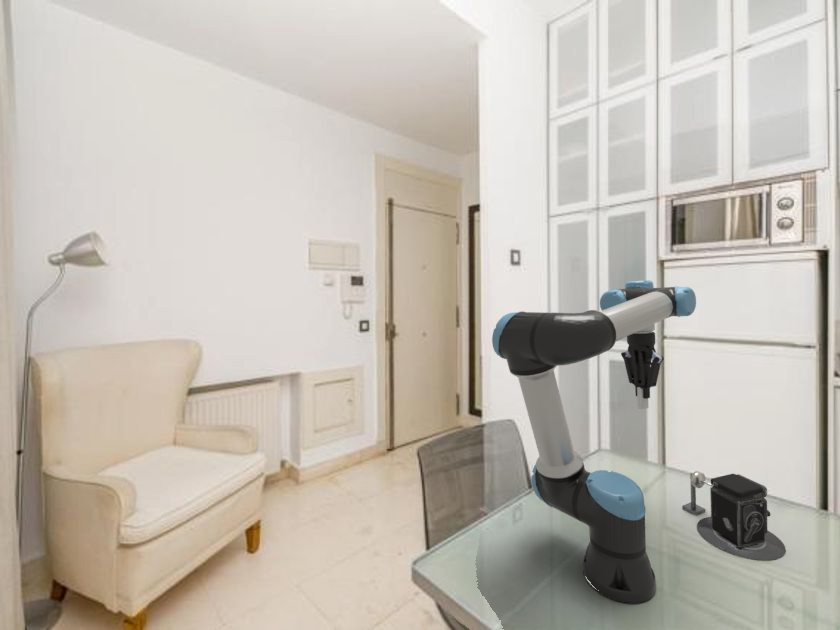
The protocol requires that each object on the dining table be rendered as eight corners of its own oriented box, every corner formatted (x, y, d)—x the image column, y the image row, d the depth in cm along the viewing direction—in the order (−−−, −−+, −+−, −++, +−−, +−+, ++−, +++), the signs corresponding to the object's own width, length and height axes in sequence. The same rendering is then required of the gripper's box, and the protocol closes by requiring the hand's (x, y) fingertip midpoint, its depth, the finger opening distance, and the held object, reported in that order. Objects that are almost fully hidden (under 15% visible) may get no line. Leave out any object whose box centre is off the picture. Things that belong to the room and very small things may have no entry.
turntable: (757, 569, 92) (757, 568, 92) (681, 528, 109) (681, 527, 109) (802, 546, 98) (801, 545, 98) (723, 510, 115) (723, 509, 115)
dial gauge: (712, 524, 109) (711, 481, 109) (681, 509, 117) (680, 469, 117) (722, 519, 111) (721, 477, 110) (691, 505, 119) (690, 465, 118)
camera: (779, 545, 99) (778, 487, 98) (743, 553, 97) (742, 494, 96) (738, 521, 109) (737, 469, 108) (706, 528, 107) (704, 474, 106)
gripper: (669, 331, 115) (672, 411, 116) (631, 328, 127) (633, 400, 129) (651, 334, 112) (653, 415, 114) (613, 331, 124) (616, 404, 126)
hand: (643, 407), depth 121 cm, fingers closed
